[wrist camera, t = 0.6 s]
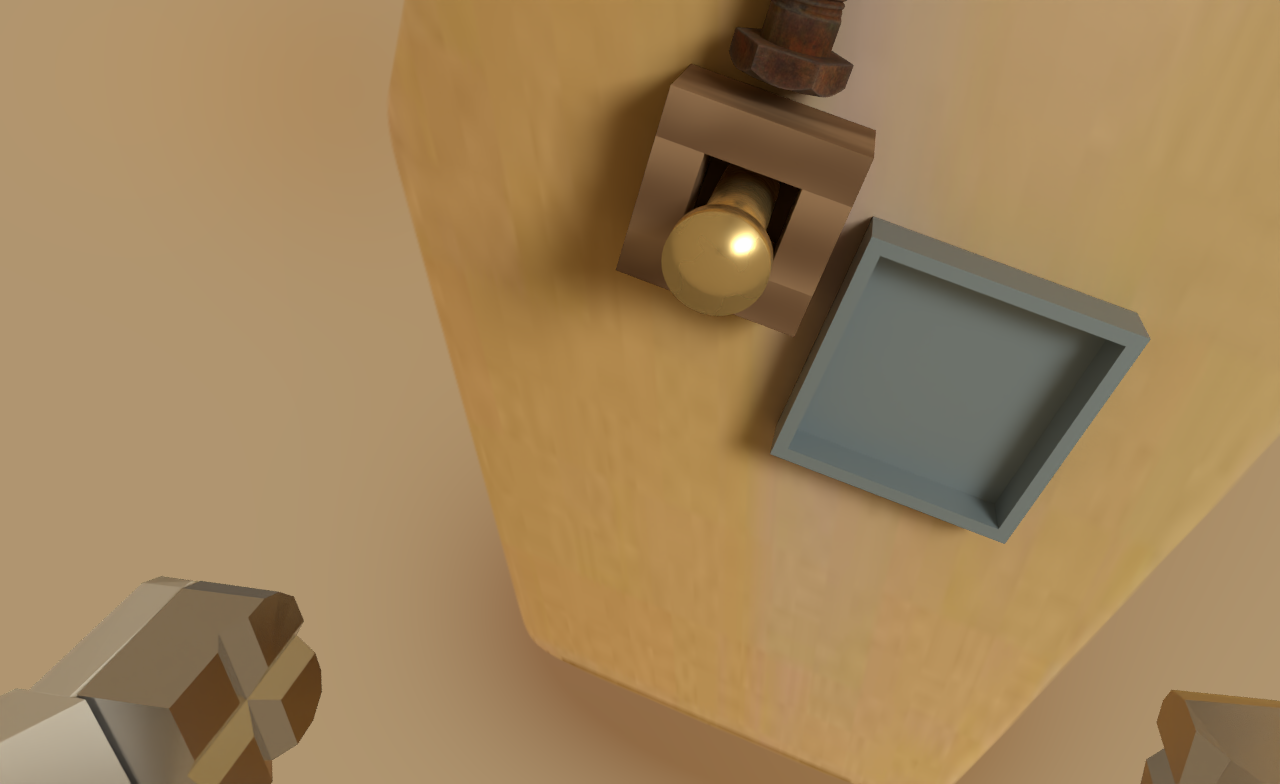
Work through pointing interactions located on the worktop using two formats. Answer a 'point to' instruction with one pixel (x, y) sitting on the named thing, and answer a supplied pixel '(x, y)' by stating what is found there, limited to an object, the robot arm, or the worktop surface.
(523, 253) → the worktop surface
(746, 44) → the bolt
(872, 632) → the worktop surface
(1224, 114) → the worktop surface
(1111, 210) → the worktop surface
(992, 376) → the tray
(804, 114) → the holder
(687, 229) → the pin
